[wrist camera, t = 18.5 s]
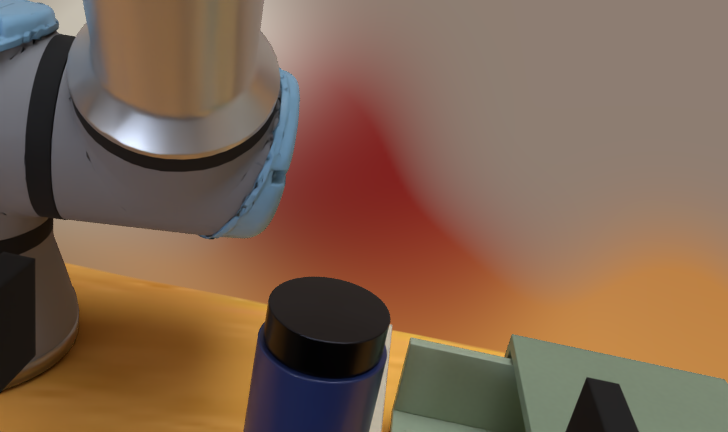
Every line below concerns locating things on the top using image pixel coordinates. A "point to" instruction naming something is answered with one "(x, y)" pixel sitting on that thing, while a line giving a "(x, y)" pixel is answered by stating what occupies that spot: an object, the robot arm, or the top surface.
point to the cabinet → (637, 380)
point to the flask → (318, 358)
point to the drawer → (451, 391)
